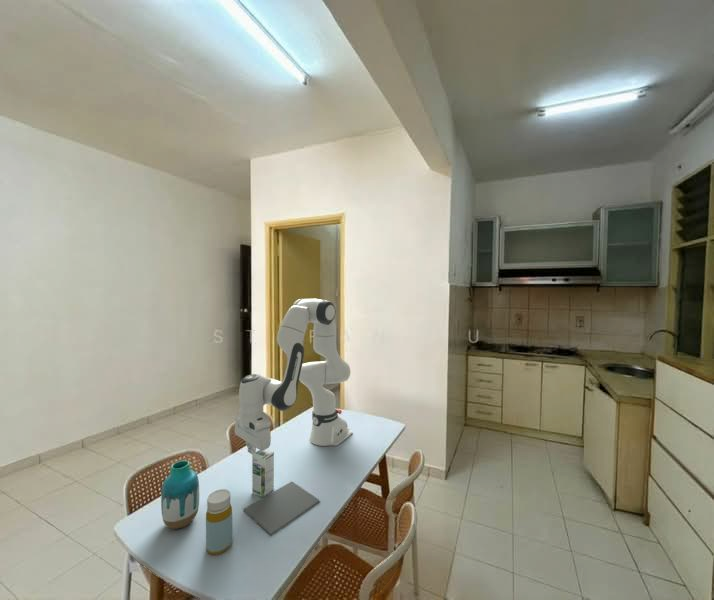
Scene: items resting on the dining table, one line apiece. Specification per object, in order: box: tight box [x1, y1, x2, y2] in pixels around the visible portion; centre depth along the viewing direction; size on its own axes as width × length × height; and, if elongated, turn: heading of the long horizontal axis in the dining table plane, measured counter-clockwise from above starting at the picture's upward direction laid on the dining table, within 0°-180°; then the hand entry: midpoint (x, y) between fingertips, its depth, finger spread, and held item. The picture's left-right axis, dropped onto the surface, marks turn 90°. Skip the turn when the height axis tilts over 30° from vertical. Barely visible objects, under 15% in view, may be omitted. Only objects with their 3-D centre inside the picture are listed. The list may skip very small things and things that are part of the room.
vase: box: [160, 459, 200, 530], centre depth 99 cm, size 11×11×19 cm
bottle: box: [205, 488, 233, 556], centre depth 91 cm, size 7×7×15 cm
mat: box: [243, 481, 321, 536], centre depth 107 cm, size 20×16×1 cm
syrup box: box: [251, 449, 275, 498], centre depth 115 cm, size 6×6×14 cm
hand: (251, 452), depth 120 cm, fingers closed
